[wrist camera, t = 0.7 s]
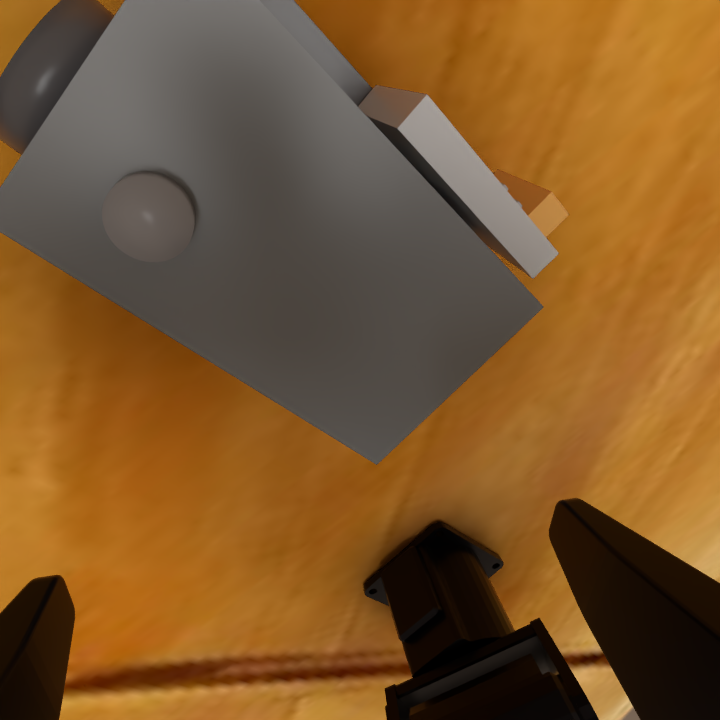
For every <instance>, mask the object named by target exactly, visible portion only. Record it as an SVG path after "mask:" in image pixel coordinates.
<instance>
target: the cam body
mask: <svg viewBox="0 0 720 720" xmlns="http://www.w3.org/2000/svg"><path fill="white" fill-rule="evenodd" d="M371 90H372V88H371V87H370V86H369V84H368V83H367V82H366V81H365V80H364V79H363V78H362V77H361V75H360V74H359V73H358V72H357V71H356V70H355V69H354V68H353V66H352V65H351V64H350V63H349V62H348V61H347V60H346V59H345V57H344V56H343V55H342V54H341V53H340V52H339V51H338V50H337V48H336V47H335V46H334V45H333V44H332V43H331V42H330V41H329V39H328V38H327V37H326V36H325V35H324V34H323V33H322V32H321V30H320V29H319V28H318V27H317V26H316V25H315V24H314V23H313V21H312V20H311V19H310V18H309V17H308V16H307V15H306V14H305V13H304V11H303V10H302V9H301V8H300V7H299V6H298V5H297V4H296V2H295V1H294V0H125V1H124V3H123V4H122V6H121V7H120V9H119V10H118V12H117V13H116V15H115V16H114V15H113V14H112V13H111V12H109V11H108V10H107V9H106V8H105V7H104V6H103V5H102V4H101V3H99V2H98V1H97V0H61V1H60V2H59V3H58V4H57V5H56V6H54V7H53V8H52V9H51V10H50V11H49V12H48V13H47V14H46V15H45V16H44V17H43V19H42V20H41V21H40V22H39V23H38V24H37V25H36V27H35V28H34V29H33V30H32V31H31V32H30V34H29V35H28V36H27V38H26V39H25V40H24V42H23V43H22V44H21V46H20V47H19V49H18V50H17V51H16V53H15V54H14V56H13V57H12V59H11V60H10V62H9V63H8V65H7V67H6V68H5V70H4V72H3V73H2V75H1V77H0V140H1V141H3V142H4V143H6V144H7V145H8V146H10V147H11V148H13V149H14V150H16V151H17V152H18V153H20V154H21V155H22V156H21V157H20V159H19V160H18V162H17V163H16V165H15V166H14V168H13V169H12V171H11V172H10V174H9V175H8V177H7V178H6V180H5V181H4V183H3V184H2V186H1V187H0V232H1V233H3V234H4V235H6V236H8V237H9V238H11V239H12V240H14V241H16V242H17V243H19V244H20V245H22V246H24V247H25V248H27V249H29V250H30V251H32V252H33V253H35V254H37V255H38V256H40V257H41V258H43V259H45V260H46V261H48V262H50V263H51V264H53V265H54V266H56V267H58V268H59V269H61V270H63V271H64V272H66V273H67V274H69V275H71V276H72V277H74V278H75V279H77V280H79V281H80V282H82V283H84V284H85V285H87V286H88V287H90V288H92V289H93V290H95V291H97V292H98V293H100V294H101V295H103V296H105V297H106V298H108V299H109V300H111V301H113V302H114V303H116V304H118V305H119V306H121V307H122V308H124V309H126V310H127V311H129V312H130V313H132V314H134V315H135V316H137V317H139V318H140V319H142V320H143V321H145V322H147V323H148V324H150V325H152V326H153V327H155V328H156V329H158V330H160V331H161V332H163V333H164V334H166V335H168V336H169V337H171V338H173V339H174V340H176V341H177V342H179V343H181V344H182V345H184V346H185V347H187V348H189V349H190V350H192V351H194V352H195V353H197V354H198V355H200V356H202V357H203V358H205V359H207V360H208V361H210V362H211V363H213V364H215V365H216V366H218V367H219V368H221V369H223V370H224V371H226V372H228V373H229V374H231V375H232V376H234V377H236V378H237V379H239V380H241V381H242V382H244V383H245V384H247V385H249V386H250V387H252V388H253V389H255V390H257V391H258V392H260V393H262V394H263V395H265V396H266V397H268V398H270V399H271V400H273V401H274V402H276V403H278V404H279V405H281V406H283V407H284V408H286V409H287V410H289V411H291V412H292V413H294V414H296V415H297V416H299V417H300V418H302V419H304V420H305V421H307V422H308V423H310V424H312V425H313V426H315V427H317V428H318V429H320V430H321V431H323V432H325V433H326V434H328V435H329V436H331V437H333V438H334V439H336V440H338V441H339V442H341V443H342V444H344V445H346V446H347V447H349V448H351V449H352V450H354V451H355V452H357V453H359V454H360V455H362V456H363V457H365V458H367V459H368V460H370V461H372V462H373V463H375V464H376V465H377V464H378V463H379V462H380V461H381V460H382V459H383V458H384V457H386V456H387V455H388V454H389V453H390V452H391V451H392V450H393V449H394V448H395V447H396V446H397V445H398V444H399V443H400V442H401V441H402V440H404V439H405V438H406V437H407V436H408V435H409V434H410V433H411V432H412V431H413V430H414V429H415V428H416V427H417V426H418V425H419V424H420V423H422V422H423V421H424V420H425V419H426V418H427V417H428V416H429V415H430V414H431V413H432V412H433V411H434V410H435V409H436V408H437V407H438V406H440V405H441V404H442V403H443V402H444V401H445V400H446V399H447V398H448V397H449V396H450V395H451V394H452V393H453V392H454V391H455V390H456V389H458V388H459V387H460V386H461V385H462V384H463V383H464V382H465V381H466V380H467V379H468V378H469V377H470V376H471V375H472V374H473V373H474V372H476V371H477V370H478V369H479V368H480V367H481V366H482V365H483V364H484V363H485V362H486V361H487V360H488V359H489V358H490V357H491V356H492V355H494V354H495V353H496V352H497V351H498V350H499V349H500V348H501V347H502V346H503V345H504V344H505V343H506V342H507V341H508V340H509V339H510V338H512V337H513V336H514V335H515V334H516V333H517V332H518V331H519V330H520V329H521V328H522V327H523V326H524V325H525V324H526V323H527V322H528V321H530V320H531V319H532V318H533V317H534V316H535V315H536V314H537V313H538V312H539V311H540V310H541V309H542V308H543V306H542V305H541V304H540V303H539V301H538V300H537V299H536V298H535V297H534V296H533V295H532V294H531V293H530V292H529V291H528V290H527V289H526V287H525V286H524V285H523V284H522V283H521V282H520V281H519V280H518V279H517V278H516V277H515V276H514V274H513V273H512V272H511V271H510V270H509V269H508V268H507V267H506V266H505V265H504V264H503V263H502V262H501V260H500V259H499V258H498V257H497V256H496V255H495V254H494V253H493V252H492V251H491V250H490V249H489V248H488V246H487V245H486V244H485V243H484V242H483V241H482V240H481V239H480V238H479V237H478V236H477V235H476V233H475V232H474V231H473V230H472V229H471V228H470V227H469V226H468V225H467V224H466V223H465V222H464V221H463V219H462V218H461V217H460V216H459V215H458V214H457V213H456V212H455V211H454V210H453V209H452V208H451V207H450V205H449V204H448V203H447V202H446V201H445V200H444V199H443V198H442V197H441V196H440V195H439V194H438V192H437V191H436V190H435V189H434V188H433V187H432V186H431V185H430V184H429V183H428V182H427V181H426V180H425V178H424V177H423V176H422V175H421V174H420V173H419V172H418V171H417V170H416V169H415V168H414V167H413V166H412V164H411V163H410V162H409V161H408V160H407V159H406V158H405V157H404V156H403V155H402V154H401V153H400V151H399V150H398V149H397V148H396V147H395V146H394V145H393V144H392V143H391V142H390V141H389V140H388V139H387V137H386V136H385V135H384V134H383V133H382V132H381V131H380V130H379V129H378V128H377V127H376V126H375V124H374V123H373V122H372V121H371V120H370V119H369V118H368V117H367V116H366V115H365V114H364V113H363V112H362V110H361V109H360V108H359V107H358V106H359V105H360V103H361V102H362V101H363V100H364V99H365V97H366V96H367V95H368V94H369V93H370V92H371Z"/></svg>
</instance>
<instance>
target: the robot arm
mask: <svg viewBox="0 0 720 720" xmlns="http://www.w3.org/2000/svg"><path fill="white" fill-rule="evenodd" d="M549 537H550V541H551V544H552V546H553V548H554V551H555V553H556V555H557V558H558V560H559V562H560V565H561V567H562V569H563V571H564V574H565V576H566V578H567V581H568V583H569V585H570V588H571V590H572V592H573V595H574V597H575V599H576V601H577V604H578V606H579V608H580V610H581V612H582V614H583V616H584V618H585V620H586V622H587V624H588V626H589V628H590V630H591V631H592V633H593V635H594V637H595V639H596V640H597V642H598V644H599V646H600V648H601V649H602V651H603V653H604V655H605V657H606V658H607V660H608V662H609V664H610V666H611V667H612V669H613V671H614V673H615V675H616V676H617V678H618V680H619V682H620V684H621V685H622V687H623V689H624V691H625V693H626V694H627V696H628V698H629V700H630V702H631V703H632V705H633V707H634V709H635V711H636V712H637V714H638V716H639V718H640V720H720V583H719V582H717V581H715V580H714V579H712V578H710V577H709V576H707V575H705V574H704V573H702V572H701V571H699V570H697V569H696V568H694V567H692V566H691V565H689V564H687V563H686V562H684V561H682V560H681V559H679V558H677V557H676V556H674V555H672V554H671V553H669V552H667V551H666V550H664V549H662V548H661V547H659V546H657V545H656V544H654V543H653V542H651V541H649V540H648V539H646V538H644V537H643V536H641V535H639V534H638V533H636V532H634V531H633V530H631V529H629V528H628V527H626V526H624V525H623V524H621V523H619V522H618V521H616V520H614V519H613V518H611V517H609V516H608V515H606V514H604V513H603V512H601V511H600V510H598V509H596V508H595V507H593V506H591V505H590V504H588V503H586V502H585V501H583V500H581V499H578V498H573V499H566V500H561V501H559V502H558V503H557V504H556V506H555V510H554V514H553V517H552V521H551V524H550V528H549ZM502 566H503V561H502V559H501V557H500V556H499V555H497V554H495V553H494V552H492V551H490V550H488V549H487V548H485V547H483V546H482V545H480V544H478V543H477V542H475V541H473V540H472V539H470V538H468V537H467V536H465V535H463V534H461V533H460V532H458V531H456V530H455V529H453V528H451V527H450V526H448V525H446V524H445V523H442V522H437V523H434V524H433V525H431V526H430V527H429V528H428V529H427V530H426V531H425V532H423V533H422V534H421V535H420V536H419V537H418V538H417V539H415V540H414V541H413V542H412V543H411V544H410V545H409V546H407V547H406V548H405V549H404V550H403V551H402V552H401V553H399V554H398V555H397V556H396V557H395V558H394V559H392V560H391V561H390V562H389V563H388V564H387V565H386V566H384V567H383V568H382V569H381V570H380V571H379V572H378V573H376V574H375V575H374V576H373V577H372V578H371V579H370V580H368V581H367V582H366V583H365V584H364V586H363V588H364V592H365V595H366V596H367V597H370V598H372V599H374V600H377V601H379V602H381V603H383V604H386V605H388V606H389V607H390V610H391V613H392V617H393V620H394V624H395V627H396V630H397V634H398V637H399V639H400V640H401V641H402V644H403V648H404V651H405V654H406V658H407V661H408V665H409V668H410V671H411V675H412V677H413V678H412V679H409V680H407V681H405V682H403V683H401V684H398V685H395V684H394V685H391V686H389V687H387V688H385V694H386V701H387V705H386V706H385V710H386V716H387V720H599V719H598V717H597V715H596V713H595V711H594V710H593V708H592V706H591V704H590V702H589V700H588V699H587V697H586V695H585V693H584V691H583V690H582V688H581V686H580V685H579V683H578V681H577V680H576V678H575V676H574V675H573V673H572V671H571V670H570V668H569V666H568V665H567V663H566V661H565V660H564V658H563V656H562V655H561V653H560V651H559V650H558V648H557V646H556V645H555V643H554V641H553V640H552V638H551V636H550V635H549V633H548V631H547V630H546V628H545V626H544V625H543V623H542V621H541V620H540V618H538V619H535V620H533V621H531V622H530V624H529V625H527V626H525V627H523V628H521V629H518V630H516V631H515V630H514V628H513V626H512V624H511V622H510V620H509V618H508V616H507V614H506V612H505V610H504V608H503V606H502V604H501V602H500V600H499V598H498V596H497V594H496V592H495V590H494V588H493V586H492V584H491V582H490V580H489V578H490V577H491V576H492V575H493V574H494V573H496V572H497V571H498V570H499V569H501V568H502ZM74 621H75V609H74V605H73V602H72V599H71V597H70V594H69V591H68V589H67V586H66V583H65V581H64V579H63V577H61V576H60V575H52V576H46V577H39V578H35V579H33V580H32V581H30V582H29V583H28V584H27V585H26V586H25V587H24V588H23V589H22V590H21V591H20V592H19V594H18V595H17V596H16V597H15V598H14V599H13V600H12V601H11V602H10V603H9V604H8V605H7V606H6V608H5V609H4V610H3V611H2V612H1V613H0V720H59V716H60V711H61V705H62V699H63V692H64V686H65V680H66V673H67V667H68V660H69V654H70V647H71V641H72V634H73V628H74Z"/></svg>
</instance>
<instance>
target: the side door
mask: <svg viewBox="0 0 720 720" xmlns="http://www.w3.org/2000/svg"><path fill="white" fill-rule="evenodd" d="M358 107H359V108H360V109H361V110H362V112H363V113H364V114H365V115H366V116H367V117H368V118H369V119H370V120H371V121H372V122H373V123H374V124H375V126H376V127H377V128H378V129H379V130H380V131H381V132H382V133H383V134H384V135H385V136H386V137H387V139H388V140H389V141H390V142H391V143H392V144H393V145H394V146H395V147H396V148H397V149H398V150H399V151H400V153H401V154H402V155H403V156H404V157H405V158H406V159H407V160H408V161H409V162H410V163H411V164H412V166H413V167H414V168H415V169H416V170H417V171H418V172H419V173H420V174H421V175H422V176H423V177H424V178H425V180H426V181H427V182H428V183H429V184H430V185H431V186H432V187H433V188H434V189H435V190H436V191H437V192H438V194H439V195H440V196H441V197H442V198H443V199H444V200H445V201H446V202H447V203H448V204H449V205H450V207H451V208H452V209H453V210H454V211H455V212H456V213H457V214H458V215H459V216H460V217H461V218H462V219H463V221H464V222H465V223H466V224H467V225H468V226H469V227H470V228H471V229H472V230H473V231H474V232H475V233H476V235H477V236H478V237H479V238H480V239H481V240H482V241H483V242H484V243H485V244H486V245H487V246H489V247H490V248H491V249H493V250H494V251H495V252H497V253H498V254H500V255H501V256H502V257H504V258H505V259H507V260H508V261H509V262H511V263H512V264H513V265H515V266H516V267H518V268H519V269H520V270H522V271H523V272H524V273H526V274H527V275H529V276H530V277H531V278H534V277H535V276H536V275H537V274H538V273H539V272H540V271H541V270H542V269H543V268H544V267H545V266H546V265H548V264H549V263H550V262H551V261H552V260H553V259H554V258H555V257H556V256H557V255H558V254H559V253H558V252H557V250H556V249H555V248H554V247H553V246H552V244H551V243H550V242H549V241H548V240H547V238H546V237H547V236H548V235H549V234H550V233H551V232H552V231H553V230H554V229H555V228H556V227H557V226H558V225H559V224H560V223H561V222H562V221H563V220H564V219H565V218H566V217H567V216H568V215H569V213H568V212H567V211H566V210H565V208H564V207H563V206H562V204H561V203H560V202H559V200H558V199H557V198H556V197H555V195H554V194H553V193H552V192H551V191H549V190H546V189H544V188H541V187H539V186H537V185H534V184H532V183H529V182H527V181H525V180H522V179H520V178H517V177H515V176H512V175H510V174H508V173H505V172H503V171H500V170H498V169H497V170H496V171H495V172H494V173H492V172H491V171H490V170H489V168H488V167H487V166H486V165H485V164H484V162H483V161H482V160H481V159H480V158H479V156H478V155H477V154H476V153H475V152H474V150H473V149H472V148H471V147H470V145H469V144H468V143H467V142H466V141H465V139H464V138H463V137H462V136H461V135H460V133H459V132H458V131H457V130H456V129H455V127H454V126H453V125H452V124H451V123H450V121H449V120H448V119H447V118H446V117H445V115H444V114H443V113H442V112H441V110H440V109H439V108H438V107H437V106H436V104H435V103H434V102H433V101H432V100H431V98H430V97H429V96H428V95H427V94H423V93H417V92H412V91H406V90H400V89H395V88H389V87H384V86H378V85H376V86H375V87H374V88H373V89H372V90H371V92H370V93H369V94H368V95H367V96H366V97H365V99H364V100H363V101H362V102H361V103H360V105H359V106H358Z"/></svg>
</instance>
